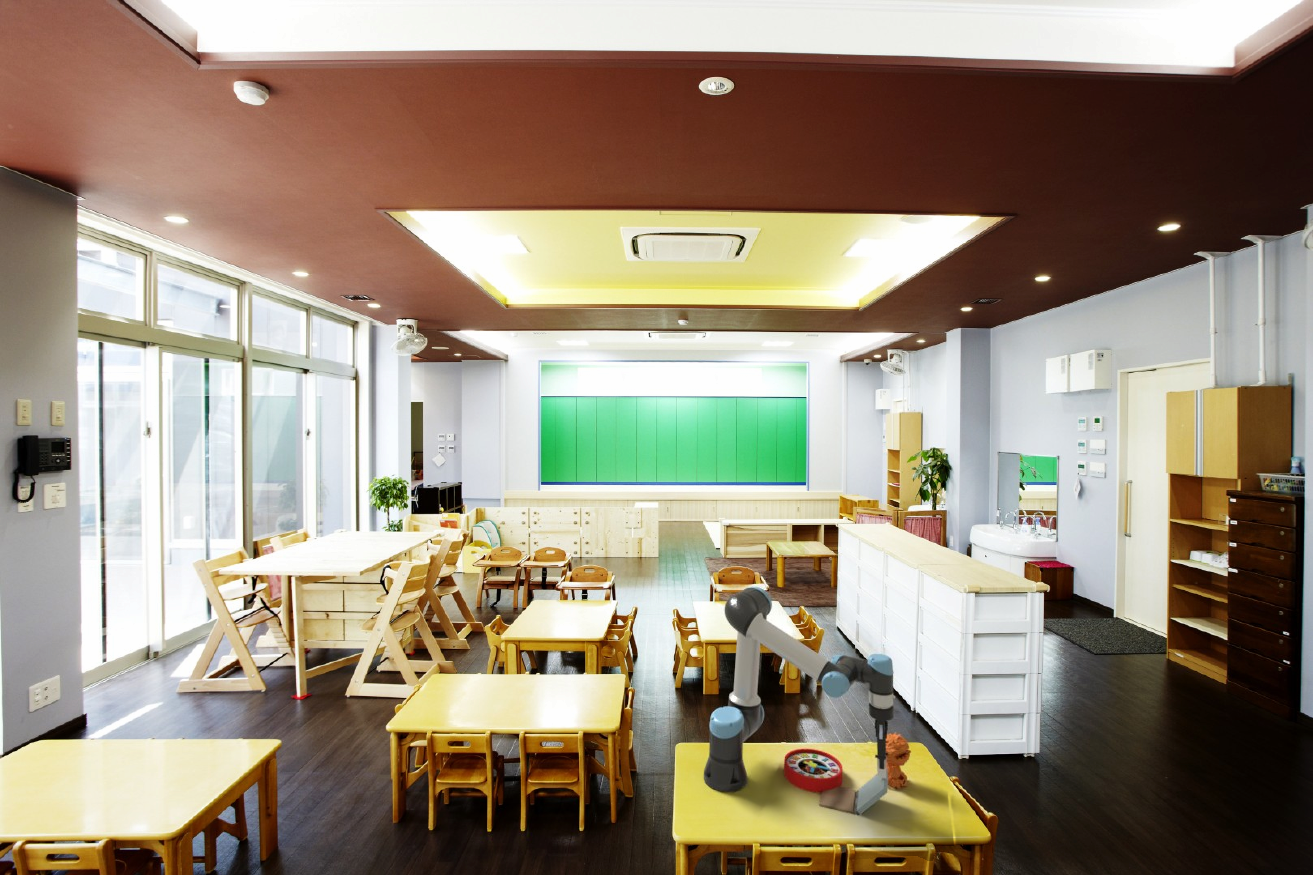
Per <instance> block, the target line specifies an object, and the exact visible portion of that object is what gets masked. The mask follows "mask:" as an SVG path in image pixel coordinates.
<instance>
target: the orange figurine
mask: <svg viewBox="0 0 1313 875" xmlns="http://www.w3.org/2000/svg"><path fill="white" fill-rule="evenodd" d="M886 753H888V756H886V770H887V771H888V787H892V788H893V789H895V788H897V789H898V790H901V787H906V788H907V784H908V780H907V779H908V776H907V774H905V772H904V771H902V769H901V766H905V764H906V763H907V762H908V760H910V756H911V753H912V750H910V745H909V743H908V740H907V739H906V738H904V737H903V736H902V733H901V734H900V733H897V731H895V732H894V733H891V732H890V733H889V734H888V733H887V739H886Z"/></svg>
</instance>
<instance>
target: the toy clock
mask: <svg viewBox="0 0 1313 875" xmlns="http://www.w3.org/2000/svg"><path fill="white" fill-rule="evenodd" d="M783 762H784V764H783V775H784V777H785V779H786V780H787V781H788V782H789V783H791V785H793V786H795V787H796V788H799V789H801V790H804V791H807V792H812V793H819V794H820V793H822V791H825V790H831V789H834V788H836V787H838V786H841V787H842V784H843V764H842V763H841V761H840V760H839V759H838V758H837V757H835V756H834V755H832V754H830V753H829V752H826V751H823V750H819V749H814V748H796V749H793V750H791V751H789V752H787V753H786V754H785V756H784V759H783ZM800 765H801V766H802V765H805V766H804V767H802V768H800V767H799V766H800ZM824 770H825V771H826V770H827V771H826V772H825V771H824Z"/></svg>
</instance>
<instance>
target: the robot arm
mask: <svg viewBox="0 0 1313 875" xmlns="http://www.w3.org/2000/svg"><path fill="white" fill-rule="evenodd" d="M772 609H773V602H772V598H771V597H770V594H768V592H767V591H766V590H764V588H762V587H759V586H750V587H746V588H744V589H743V590H741V591H740V592H737V593H734V594H732V595H730V597H729V598H727V600H726V602H725V605H724V615H725V618H726V620H727V622H728V623H729V625H730V626H731V627H732V629H734V630H735V631H737V638H736V651H735V665H734V666H735V668H734V682H733V691H732V692H730V693H729V696H728V705H727V706H726V705H725V706H723V707H722V706H720V707H718V708H716V709H715V710H714V711H712V713H711V715H710V719H709V720H710V721H709V742H708V744H709V747H708V748H709V749H708V750H709V754H708V758H707V761H706V764H705V767H704V769H703V780H704V783H705V784H706V785H707V786H708V787H710V788H711V789H713V790H717V791H719V792H724V793H725V792H727V793H730V792H731V793H733V792H737V791H741V790H742V789H744V788H745V787H746V786H747V784H748V774H747V770H746V767H745V763H744V758H743V753H744V752H743V750H744V742H745V741H746V740H748V738H750V737H751V736H752V735H753V734H754V733H756V732H757V731H758V730H759V729H760V727H761V726H762V724H763V721H764V718H765V711H764V707H763V705H762V703H761V702H762V700H761V697H760V696H759V695H758V684H759V671H760V658H761V657H760V655H761V645H763V646H764V647H766V648H767V649H768V650H770V651H771V652H773V653H775V654H776V655H777V656H778V657H781V659H783V660H785V661H787V663H790V664H791V665H792V666H794V667H795V668H797V669H799V670H800V671H802V672H803V673H804V674H806V675H808V676H809V677H810V678H812V679H814V680H815V681H817V683H819V684H820V685H821V688H822V690H823V691H824V693H825V694H826V695H827V696H829V697H830V698H834V699H837V698H840V697H842V696H843V695H845V694H846V693H847V692H849V690H850V689H851V687H852V686H853V685H854V683H861V684H867V685H868V702H869V704H868V715H869V716H870V717H871V718H873V719H874V729H875V737H876V749H877V750H876V751H877V752H876V754H875V756H874V758H876V762H877V763H876V764H877V766H876V767H877V768H876V770H877V773H876V774H877V777H879V778H885V779H886V756H888V753H886V739H887V734H888V729H889V728H888V727H889V721H891V720H893V718H894V717H895V716H894V714H895V713H894V712H895V711H894V706H893V705H894V699H896V696H895V695H894V668H893V666H894V665H893V659H892V658H891V657H890V656H888V655H885V654H883V653H872V654H870V655H868V659H865V658H859V657H854V656H848V655H846V654H834V655H833V656H832V657H831V660H828V659H827V658H825V657H824V656H822V655H820V654H819V653H817V652H816V651H814V650H813V649H811V648H810V647H808V646H807V645H805V644H804V643H802V642H801V641H799V639H798V640H797V639H796V638H795V637H794V636H791V635H790V634H788V633H786V631H783V629H780V628H779V627H777V626H776V625H775V624H773V623H771V622H770V621H768V620H767V618H768V617H767V616H768V615H770V612H771V610H772Z"/></svg>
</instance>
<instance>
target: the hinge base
mask: <svg viewBox="0 0 1313 875" xmlns="http://www.w3.org/2000/svg"><path fill="white" fill-rule="evenodd" d="M858 794H859V789H857V790H856V789H853V788H849V787H845V786H842V785H841V786H838V787H836V788H834V789H831V790H825V791H822V793H821V794H820V799H819V802H818V805H819V807H822V808H823V807H824V808H826V809H827V808H828V809H830V810H836V811H840V812H843V813H847V814H852V815H856V816H859V815H860V814H859V813H858V812H857V805H855V799H856V798H858Z"/></svg>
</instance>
